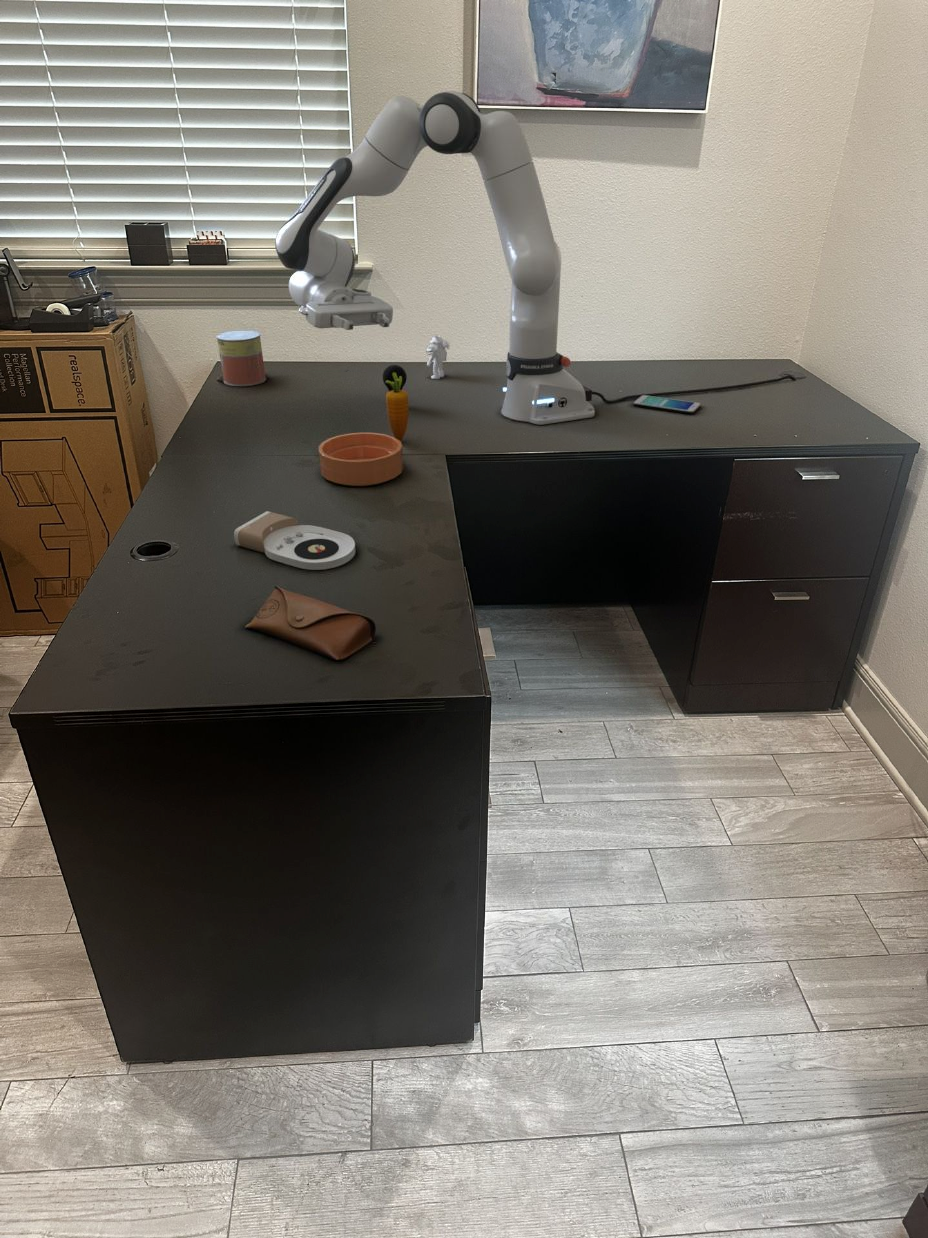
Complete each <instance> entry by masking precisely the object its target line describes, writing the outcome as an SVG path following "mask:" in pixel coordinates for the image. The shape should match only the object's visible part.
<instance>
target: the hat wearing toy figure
mask: <svg viewBox="0 0 928 1238" xmlns="http://www.w3.org/2000/svg"><path fill="white" fill-rule="evenodd" d="M429 343H430V344H429V345H428V347H427V348H426V351H425V352H426V354H427V356H429V358H428V361H427V363H426V367H427V368H428V369H430V367H431V365H432V374H433V375H431V376H430V378H431V379H433V380H440V379H441V378H444V377H445V372H444V370H443V363H444V362H446V361H447V357H448V351H447V350H450V344H451V343H450V342H449V341H448V340H447V339H443V336H442V335H438V334H434V337H431V340H430V341H429Z"/></svg>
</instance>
